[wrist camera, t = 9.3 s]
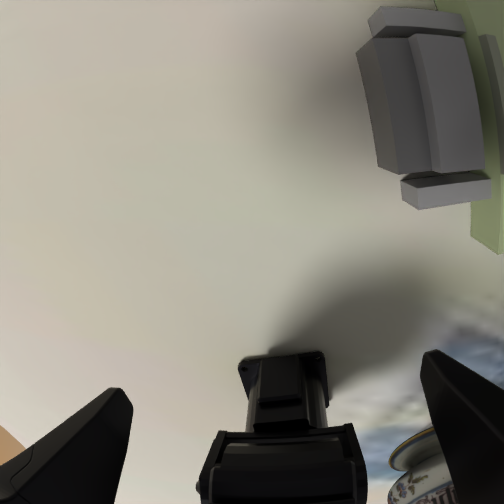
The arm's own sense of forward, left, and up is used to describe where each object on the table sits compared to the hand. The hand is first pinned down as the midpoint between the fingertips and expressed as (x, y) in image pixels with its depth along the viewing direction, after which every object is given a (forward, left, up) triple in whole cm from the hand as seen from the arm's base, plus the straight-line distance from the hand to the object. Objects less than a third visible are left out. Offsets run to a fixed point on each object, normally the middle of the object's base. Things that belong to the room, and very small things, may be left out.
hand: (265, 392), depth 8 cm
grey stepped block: (+7, -10, -12) cm, 17 cm away
